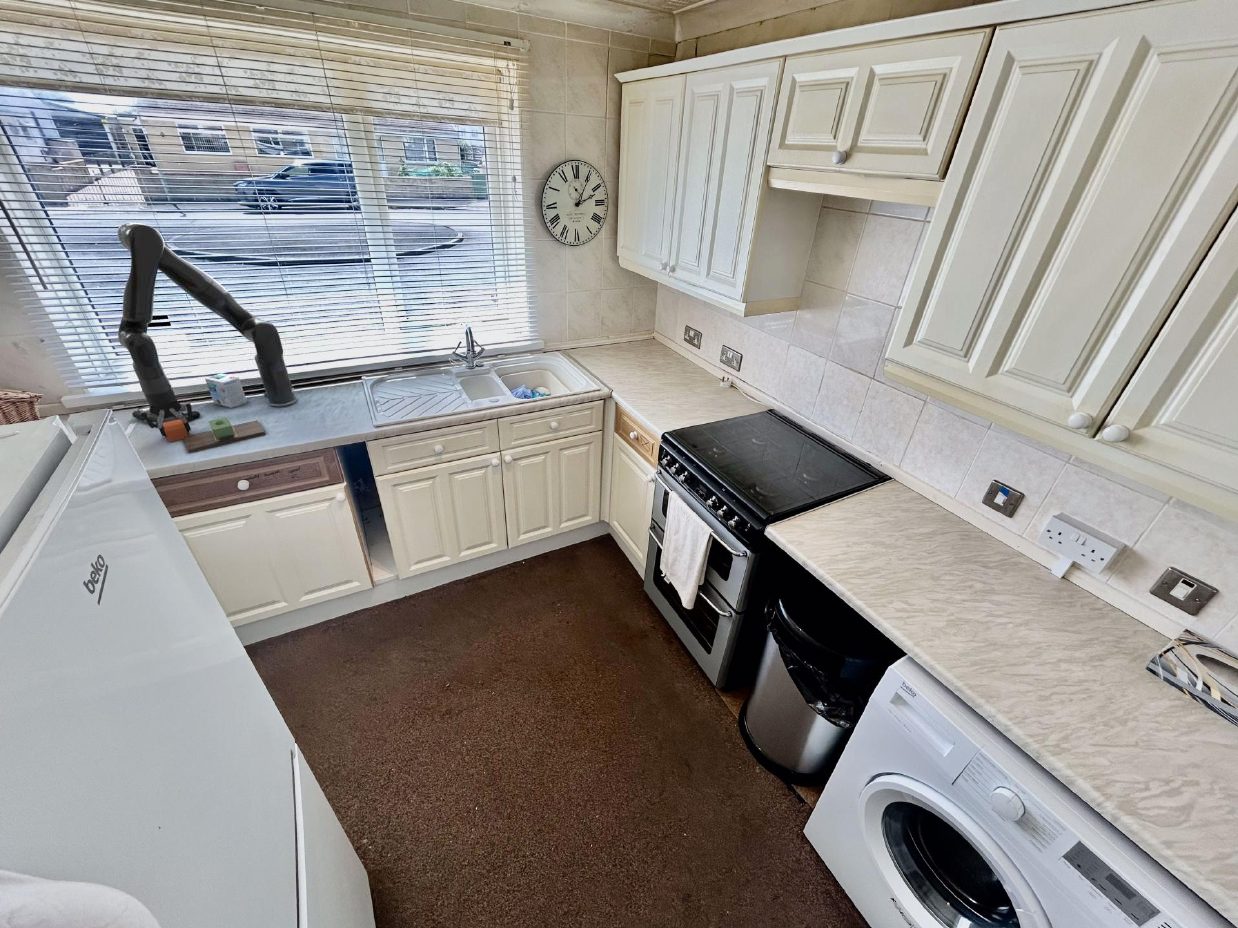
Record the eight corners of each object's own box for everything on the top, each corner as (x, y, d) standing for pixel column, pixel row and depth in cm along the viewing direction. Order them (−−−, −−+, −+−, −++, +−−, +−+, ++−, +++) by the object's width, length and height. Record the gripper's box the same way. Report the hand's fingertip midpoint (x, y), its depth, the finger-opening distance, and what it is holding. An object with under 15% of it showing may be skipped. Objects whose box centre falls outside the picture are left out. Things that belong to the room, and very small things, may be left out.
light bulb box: (213, 403, 207) (203, 378, 202) (230, 397, 212) (220, 372, 207) (232, 408, 204) (222, 382, 198) (248, 402, 209) (239, 376, 204)
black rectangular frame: (172, 399, 204) (126, 412, 190) (210, 407, 199) (166, 421, 185) (175, 407, 205) (130, 421, 192) (213, 415, 200) (169, 430, 186)
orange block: (167, 432, 184) (162, 422, 182) (186, 428, 188) (181, 418, 186) (169, 442, 179) (164, 431, 177) (189, 437, 182) (184, 427, 180)
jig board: (185, 439, 180) (182, 433, 179) (258, 423, 193) (256, 417, 192) (189, 452, 173) (186, 446, 172) (265, 434, 185) (263, 428, 184)
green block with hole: (212, 431, 184) (207, 418, 181) (231, 427, 187) (226, 414, 184) (216, 440, 178) (211, 427, 175) (235, 435, 181) (230, 423, 178)
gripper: (182, 381, 181) (200, 425, 189) (129, 390, 173) (150, 436, 181) (185, 387, 176) (203, 432, 185) (130, 397, 168) (152, 444, 176)
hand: (177, 434), depth 183 cm, fingers closed on orange block, 5 cm apart
